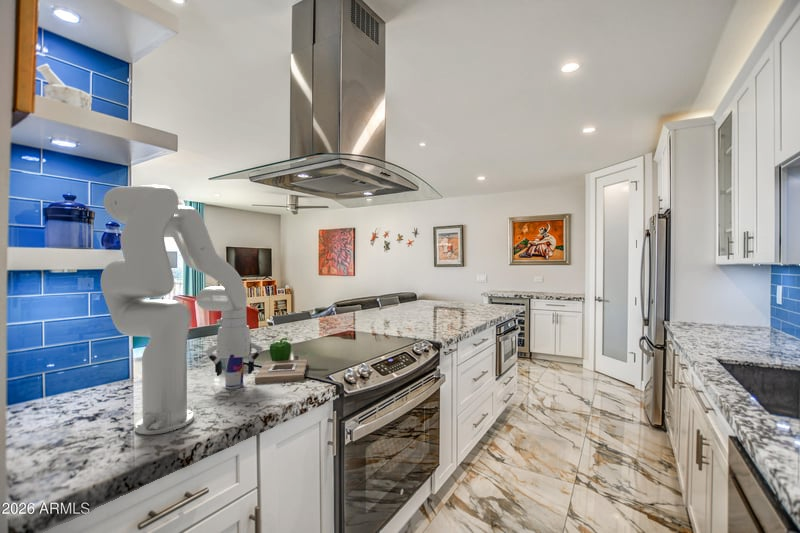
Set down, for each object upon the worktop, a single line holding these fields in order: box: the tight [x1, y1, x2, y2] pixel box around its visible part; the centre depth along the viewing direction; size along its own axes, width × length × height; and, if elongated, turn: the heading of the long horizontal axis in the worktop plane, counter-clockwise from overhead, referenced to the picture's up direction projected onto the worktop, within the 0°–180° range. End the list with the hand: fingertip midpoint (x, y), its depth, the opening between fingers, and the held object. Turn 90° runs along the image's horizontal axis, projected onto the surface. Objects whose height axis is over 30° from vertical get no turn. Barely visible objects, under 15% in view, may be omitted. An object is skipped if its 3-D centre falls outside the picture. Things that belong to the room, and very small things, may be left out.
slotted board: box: [254, 359, 308, 384], centre depth 133 cm, size 20×16×2 cm
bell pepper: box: [269, 337, 292, 361], centre depth 147 cm, size 8×8×10 cm
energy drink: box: [224, 355, 244, 390], centre depth 119 cm, size 5×5×12 cm
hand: (235, 373), depth 119 cm, fingers open, 9 cm apart
